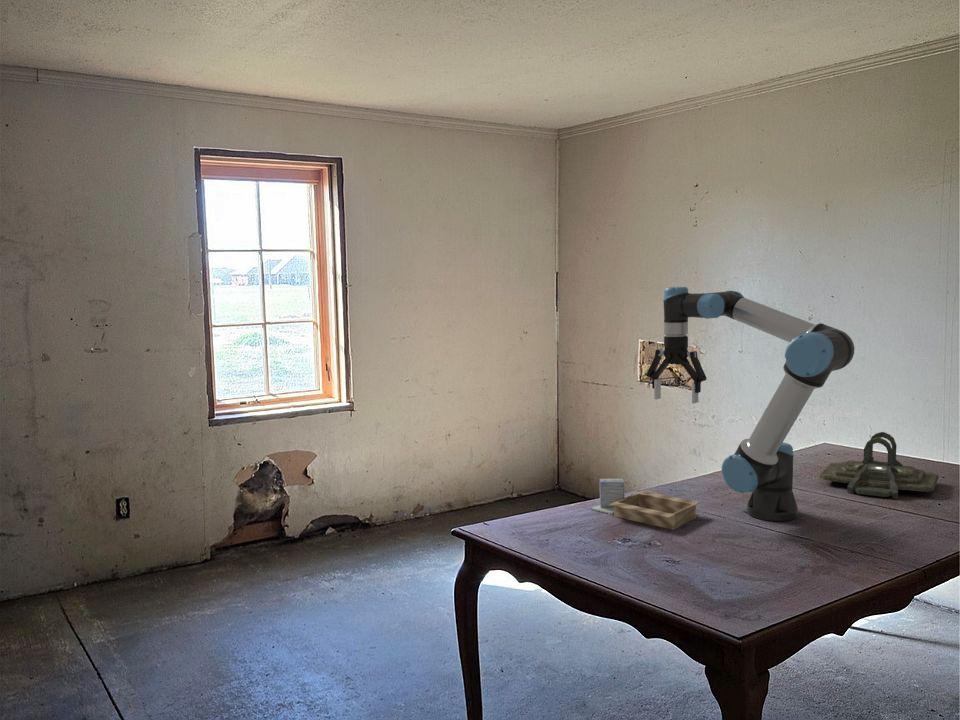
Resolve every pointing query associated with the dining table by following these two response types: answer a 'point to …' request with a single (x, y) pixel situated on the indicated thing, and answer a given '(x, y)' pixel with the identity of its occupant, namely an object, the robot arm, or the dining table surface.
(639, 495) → the wooden tray
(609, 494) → the medicine box
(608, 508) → the mat
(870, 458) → the olive flat handled piece
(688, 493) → the dining table surface
